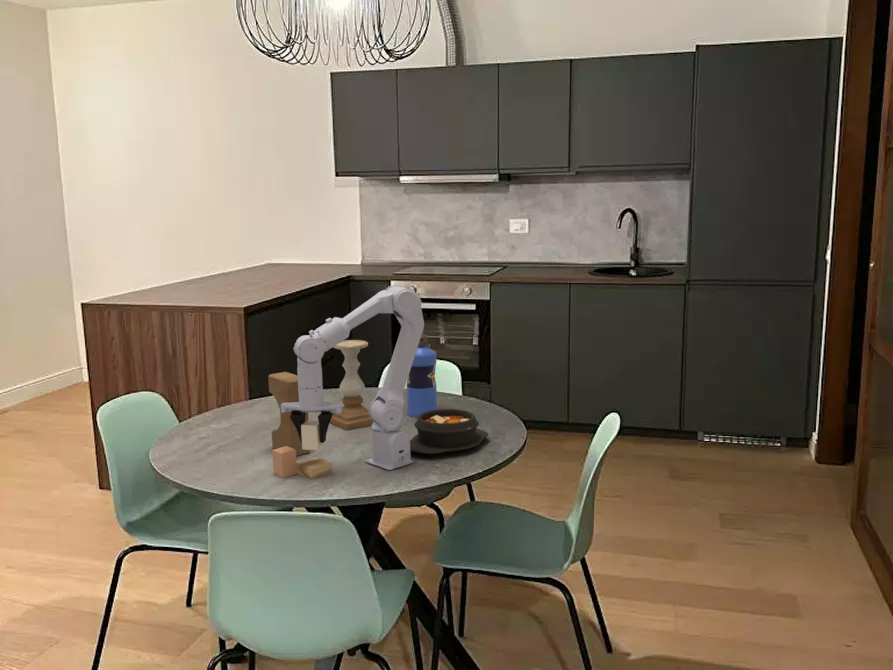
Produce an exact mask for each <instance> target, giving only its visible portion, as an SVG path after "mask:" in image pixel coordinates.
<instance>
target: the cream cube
mask: <svg viewBox="0 0 893 670" xmlns="http://www.w3.org/2000/svg"><path fill="white" fill-rule="evenodd" d="M301 435H302V449H305V450H310V451H319V450H320V449H321V448H323V447H325V442H324V443H321V442H320V426H319V420H308V421H306V422H305V423H303V424H302V425H301Z"/></svg>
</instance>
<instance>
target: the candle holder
mask: <svg viewBox="0 0 893 670" xmlns="http://www.w3.org/2000/svg"><path fill="white" fill-rule="evenodd" d="M368 346H369V342H368V341H366V340H362V339H345V340H343V341H342V342H340V343H339V344H337V345H335V346H334V347H332V348H333V349H336V350H340V351H341V353H342V354H343V356H344V360H343V363H342V365H341V367H343V369H344V370H345V374H344V377H343V379H342V380H341V383H340V384H339V392H340V394H341V395H343V398H342V400H341V402H342V403H341V404H342V412H341V413H340V414H336V413H333V416H332V418H331V420H330V423H329V424H331V425H332V426H335V427H338V428H339V429H341V430H345V431H351V430H355V429H361V428H365V427H369V426H371V427H372V424H373V419H372V418H371V417H370V416H369V412H368V409H369V408H368V407H366V406H364V405H362V404H363V402H364V398H363V397H362V394H363V393H364V392H365V389H366V388H365V387H366V386H365V384H364V382H363V380H362V378H360V375H359V373H358V370H359V367H360V366H361V363H360V361H359V360H358V354H359V353H360V351H361V349H364V348H366V347H368Z"/></svg>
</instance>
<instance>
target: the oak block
mask: <svg viewBox="0 0 893 670" xmlns="http://www.w3.org/2000/svg"><path fill="white" fill-rule="evenodd" d="M296 462H297V461H296ZM297 474H298V475H300V476H303V477H305V478H308V479H310V480H313V479H317V478H320V477H323V476H327V475H330V474H333V462H332V461H330V460H327V459H325V458H323V457H319V456H315V457H312V458H307V459H304V460H302V461H298V462H297Z"/></svg>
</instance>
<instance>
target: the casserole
mask: <svg viewBox="0 0 893 670" xmlns="http://www.w3.org/2000/svg"><path fill="white" fill-rule="evenodd" d="M416 419H417V420H416V421H415V422H414V424H413V425H414V427H415V428H416V430H417V434H416V435H414V436H413V437H412V438H411V439H410V452H413V453H418V454H423V455H424V454H425V455H436V454H441V453H443V454H447V453H448V454H449V453H457V452H462V451H465V450H469V449H472V448H474V447H476V446H478V445H480V444H481V443H482V441H483V440H484V439H486V438H487V437H488V436H489V433H488V432H487V431H486V430H483V429H480V428H478V427H479V424H480V423H479V421H478V420H477V418H476V415H475V414H474V413H473V412H471V411H468V410H464V409H456V408H455V409H454V408H440V409H438V408H437V410H431V411H427V412H424V413H422V414H420V415H419V416H418V418H416Z"/></svg>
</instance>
